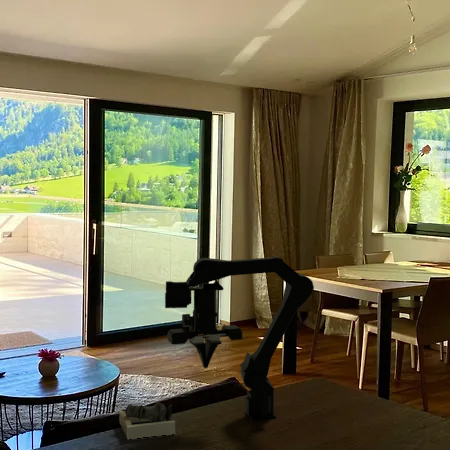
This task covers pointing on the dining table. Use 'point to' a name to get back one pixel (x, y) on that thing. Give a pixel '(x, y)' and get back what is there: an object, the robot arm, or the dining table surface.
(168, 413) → the salt shaker
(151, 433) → the white shallow tray
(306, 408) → the dining table surface
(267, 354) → the robot arm
